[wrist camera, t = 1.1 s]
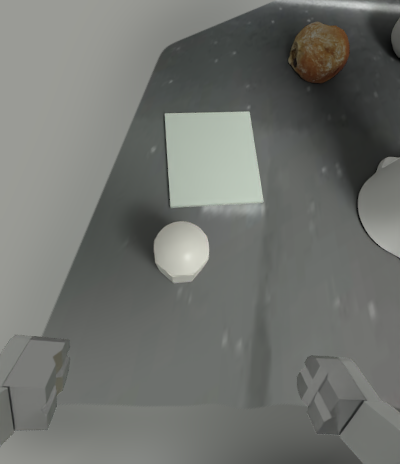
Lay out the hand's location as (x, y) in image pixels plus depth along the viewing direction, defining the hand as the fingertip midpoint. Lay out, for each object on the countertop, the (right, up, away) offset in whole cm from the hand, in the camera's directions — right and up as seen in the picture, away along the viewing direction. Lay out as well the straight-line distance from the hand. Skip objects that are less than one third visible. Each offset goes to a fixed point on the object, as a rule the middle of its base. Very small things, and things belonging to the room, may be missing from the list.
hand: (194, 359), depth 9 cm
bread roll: (+21, +36, +41) cm, 58 cm away
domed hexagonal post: (-3, 0, +29) cm, 29 cm away
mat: (+2, +16, +34) cm, 37 cm away
